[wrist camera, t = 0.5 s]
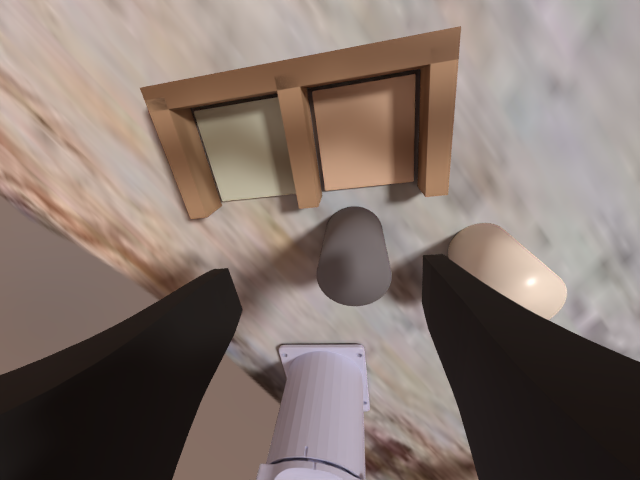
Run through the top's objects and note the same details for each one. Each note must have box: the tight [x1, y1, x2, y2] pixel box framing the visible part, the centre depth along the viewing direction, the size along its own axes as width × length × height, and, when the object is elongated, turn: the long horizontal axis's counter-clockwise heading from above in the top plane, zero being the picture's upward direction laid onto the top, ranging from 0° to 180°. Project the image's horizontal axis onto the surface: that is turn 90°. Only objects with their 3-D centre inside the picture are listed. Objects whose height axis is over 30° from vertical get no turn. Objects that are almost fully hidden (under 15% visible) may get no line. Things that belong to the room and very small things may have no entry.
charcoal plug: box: [317, 207, 392, 306], centre depth 17 cm, size 4×4×6 cm
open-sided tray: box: [140, 26, 461, 219], centre depth 15 cm, size 8×16×2 cm, turn 98°
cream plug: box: [448, 223, 567, 320], centre depth 16 cm, size 4×4×6 cm
